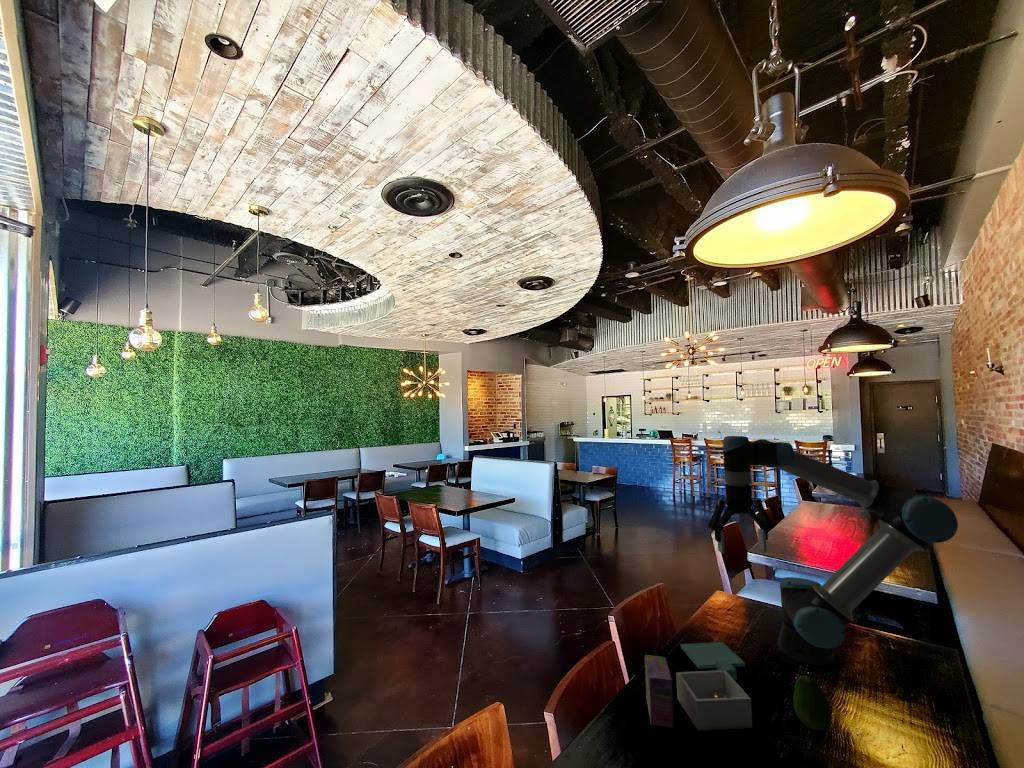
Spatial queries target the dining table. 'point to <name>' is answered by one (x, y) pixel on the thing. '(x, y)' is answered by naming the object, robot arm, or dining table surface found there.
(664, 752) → the dining table surface
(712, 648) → the lid
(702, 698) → the tub
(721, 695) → the brass roller
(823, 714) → the avocado
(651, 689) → the box
